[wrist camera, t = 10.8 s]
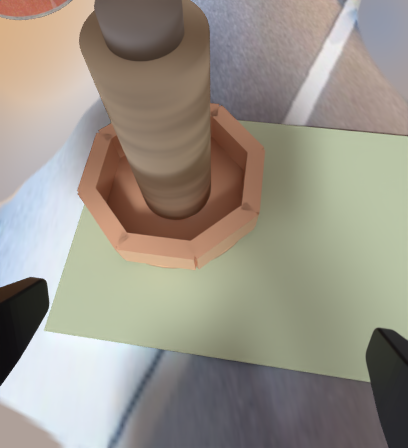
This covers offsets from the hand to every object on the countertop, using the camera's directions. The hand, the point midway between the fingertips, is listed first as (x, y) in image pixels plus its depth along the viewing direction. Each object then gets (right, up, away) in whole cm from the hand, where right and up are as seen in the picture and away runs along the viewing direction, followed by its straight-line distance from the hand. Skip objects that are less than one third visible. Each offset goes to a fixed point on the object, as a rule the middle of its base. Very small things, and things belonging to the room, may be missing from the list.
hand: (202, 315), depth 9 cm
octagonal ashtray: (-2, +5, +16) cm, 17 cm away
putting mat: (+5, +2, +16) cm, 16 cm away
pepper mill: (-2, +5, +16) cm, 17 cm away
